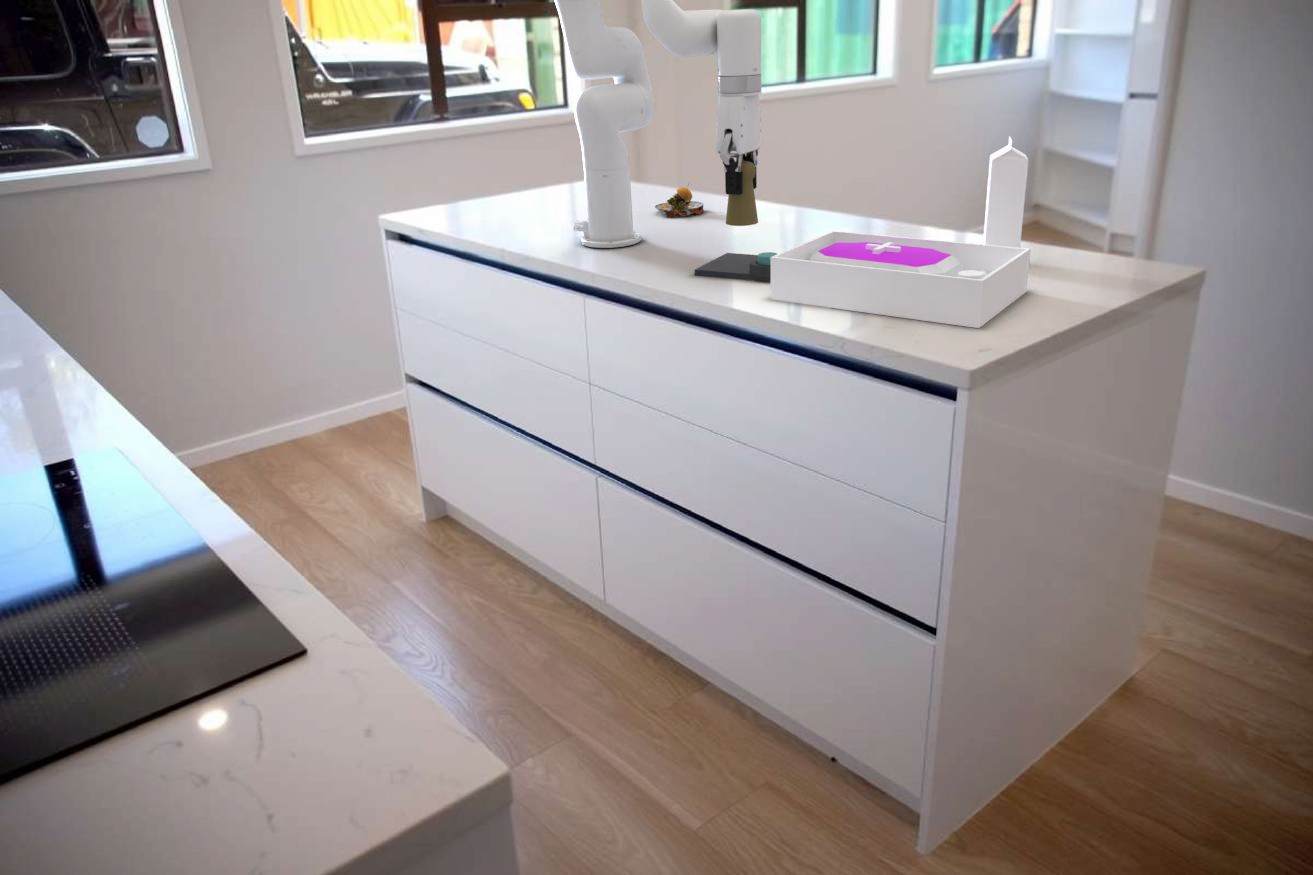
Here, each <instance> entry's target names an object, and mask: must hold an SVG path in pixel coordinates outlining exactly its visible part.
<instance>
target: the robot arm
mask: <svg viewBox="0 0 1313 875" xmlns="http://www.w3.org/2000/svg"><path fill="white" fill-rule="evenodd" d="M553 1H554V3H555V7H556V10H557V12H558V16H559V22H560V26H561V30H562V34H563V38H564V42H565V46H566V51H567V55H568V59H569V64H570V66H571V69H572V71H573V73H574V74H575V76H576V77H578V78H579V79H582V80H602V79H612V78H613V81H614V83H607V84H605V83H604V84H598V85H597V84H596V85H593V86H590V87H587V88H585V89H583V90H582V91H581V92H580V93H579V94H578V95H577V97H576V98H575V101H574V106H573V107H574V108H573V113H574V120H575V124H576V128H577V132H578V134H579V140H580V146H581V154H582V155H581V156H582V165H583V167H582V168H583V176H584V178H583V179H584V191H585V205H586V217H587V218H586V220H576V221H575V223H574V226H573V230H574V232H583V236H582V237H581V244H582V245H583V246H585V247H588V248H596V249H613V248H614V249H615V248H623V247H628V246H633V245H636V244H639V243H640V241H642V235H641V233H639V232H636V231H634V224H633V223H634V222H633V202H632V188H631V187H632V186H631V184H632V183H631V169H630V166H631V165H630V157H629V152H628V149H627V146H626V144H625V142H624V141H623V139H622V137H621V133H625V132H631V131H636V130H641V129H644V128H646V127H647V126H649V125H650V124H651V122H652V121H653V119H654V115H655V108H656V105H655V97H654V90H653V86H652V81H651V76H650V73H649V68H648V63H647V59H646V56H645V50H644V47H643V44H642V43H641V40H640V39H639V37H638V36H637V35H636V33H635V32H634V31H633V30H632V29H629V28H628V27H624V26H613V27H612V26H611V27H608V26H607V24H606V22H605V21H606V20H605V18H604V15H603V10H602V5H601V3H600V0H553ZM640 7H641V13H642V18H643V21H644V24H645V26H646V28H647V30H648V31H649V33H650V34H651V35H652V36H653V38H655V39H656V40H657V42H659V44H660V45H661V46H662V47H663V48H664V49H665V50H666V51H667V52H669V53H670V54H672V55H674V56H676V57H678V58H695V57H705V56H706V57H708V56H717V81H718V82H717V84H718V86H717V87H718V88H717V90H718V102H717V111H716V127H715V132H716V133H715V150H716V153H717V154H718V155H719V158H720V160H721V162H722V164H723V171H724V183H725V186H724V188H725V194H726V195H729V194H731V195H741V194H743V172H740V170H741V161H749V162H752V163H753V164H754V166H755V169H756V170H757V165H758V155H759V150H760V147H761V145H762V112H761V101H760V100H761V99H760V95H762V17H761V14H760V13H759V11H758V10H756V9H752V8H750V9H748V8H746V9H744V8H743V9H728V10H726V9H717V8H713V9H691V10H684V9H682V8H681V7H680V6H679V5H678V4H677V3H676V2H675V1H674V0H641V1H640ZM735 161H736V162H735ZM757 179H758V178H757V172H756V173H755V177H754V178H753V187H754V190H755V189H757V187H758V185H757V184H758V183H757V182H758V181H757Z"/></svg>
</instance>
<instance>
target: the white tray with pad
mask: <svg viewBox="0 0 1313 875" xmlns="http://www.w3.org/2000/svg"><path fill="white" fill-rule="evenodd" d="M1031 250H1032V249H1031V248H1028V247H1020V248H1017V247H1006V246H995V245H984V244H983V243H973V242H972V243H971V242H961V241H952V240H951V241H950V240H941V239H940V240H939V239H928V238H917V237H906V236H896V235H885V234H884V235H883V234H873V233H864V232H863V233H862V232H852V231H842V230H831V231H829V232H826V233H824V234H822V235H819V236H817V237H815V238H813V239H809V240H808V241H805V242H802V243H800V244H797V245H795V246H793V247H791V248H789V249H787V250H784V251H782V252H779V253H777V255H774V256H772V257H771V282H770V300H773V301H780V302H787V303H795V304H802V305H809V306H816V307H817V306H818V307H824V308H831V309H836V310H837V309H838V310H844V311H851V312H859V313H865V314H866V313H867V314H872V315H880V316H886V317H887V316H888V317H894V318H903V319H910V320H917V321H924V322H932V323H939V324H944V325H954V326H960V327H967V328H974V329H980V328H981V327H983V326H984V325H985V324H987V323H988V322H989V321H990V320H992V319H993V318H994V317H995V316H997V315H999V313H1001V312H1002V311H1004V310H1005V309H1006V308H1008V307H1009V306H1010V305H1011V304H1012V303H1014V302H1015V301H1017V300H1018V299H1020V297H1022V296H1023V295H1025V293H1027V289H1028V279H1029V271H1030V270H1029V269H1030V260H1031Z"/></svg>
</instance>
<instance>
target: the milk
mask: <svg viewBox="0 0 1313 875" xmlns="http://www.w3.org/2000/svg"><path fill="white" fill-rule="evenodd" d="M1029 160H1030V159H1029V158H1028V156H1027V155H1026V154H1025V153H1024V152H1023V151H1021V150H1019V149H1017V148H1015V147H1013V139H1012V137H1011V136H1010V135H1009V136H1008V144H1007V145H1006V146H1004V147H1002V148H1000V149H998V150H997V151H995V152H993V153H991V154H990V155H989V164H988V177H987V188H986V189H987V190H986V198H985V199H986V201H985V214H984V223H983V224H984V225H983V237H982V244H984V245H995V246H1006V247H1017V248H1021V243H1022V232H1023V222H1024V212H1025V201H1026V192H1027V183H1028V182H1027V180H1028V172H1029V171H1028V170H1029Z"/></svg>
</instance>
